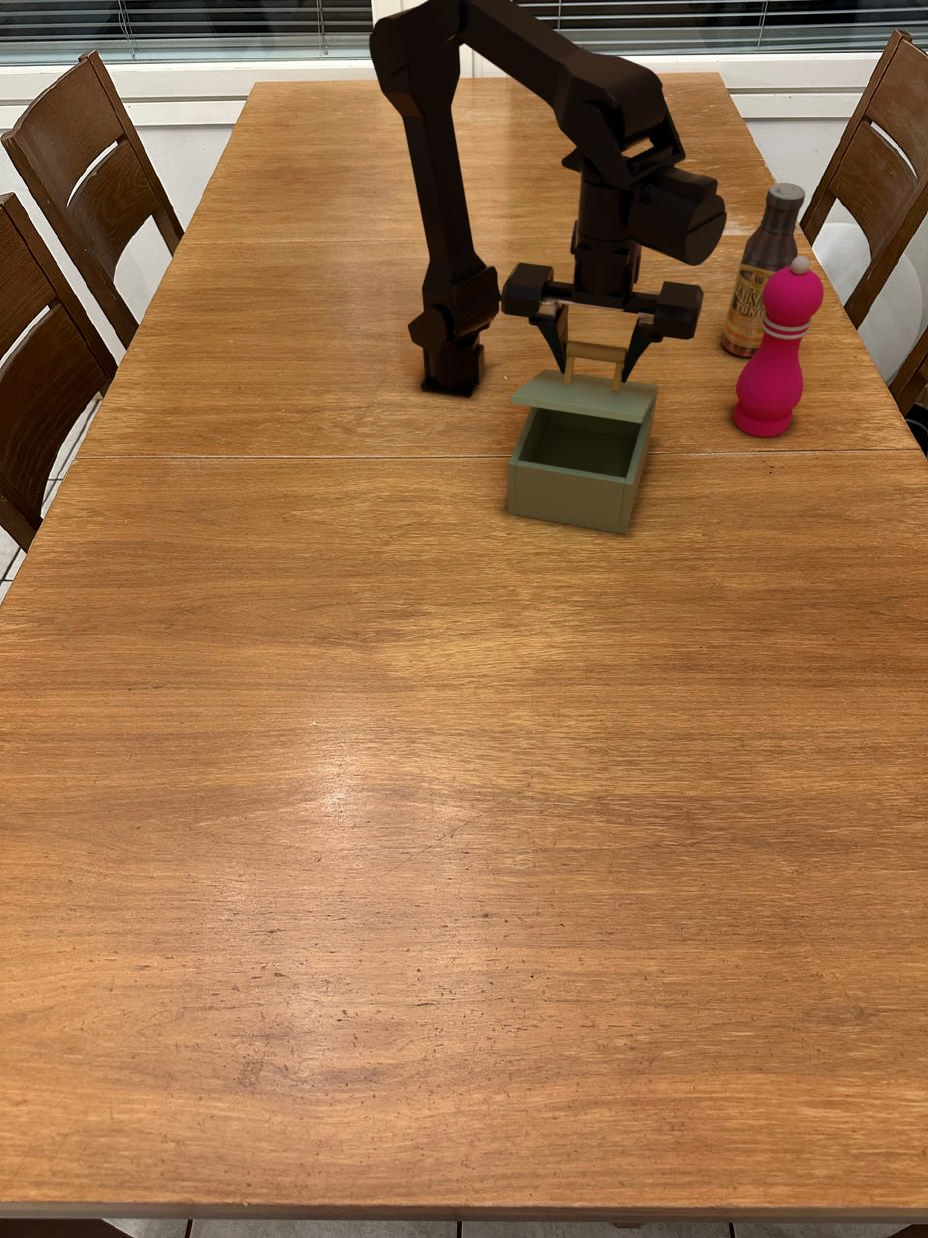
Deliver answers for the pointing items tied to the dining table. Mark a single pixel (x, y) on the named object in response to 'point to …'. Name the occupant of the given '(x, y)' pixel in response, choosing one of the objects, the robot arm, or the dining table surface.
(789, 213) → the sauce bottle
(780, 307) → the pepper mill
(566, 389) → the lid
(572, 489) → the green box
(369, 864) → the dining table surface
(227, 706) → the dining table surface
